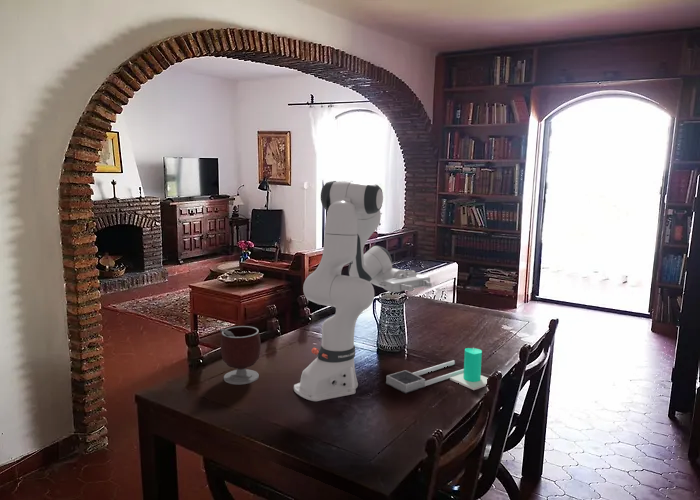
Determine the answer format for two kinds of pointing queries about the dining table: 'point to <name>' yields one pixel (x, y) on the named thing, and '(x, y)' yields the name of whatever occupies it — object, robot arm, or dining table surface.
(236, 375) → the mate gourd
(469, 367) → the candle
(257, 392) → the dining table surface
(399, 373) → the shallow square tray
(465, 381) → the ceramic tile
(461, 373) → the guide channel
